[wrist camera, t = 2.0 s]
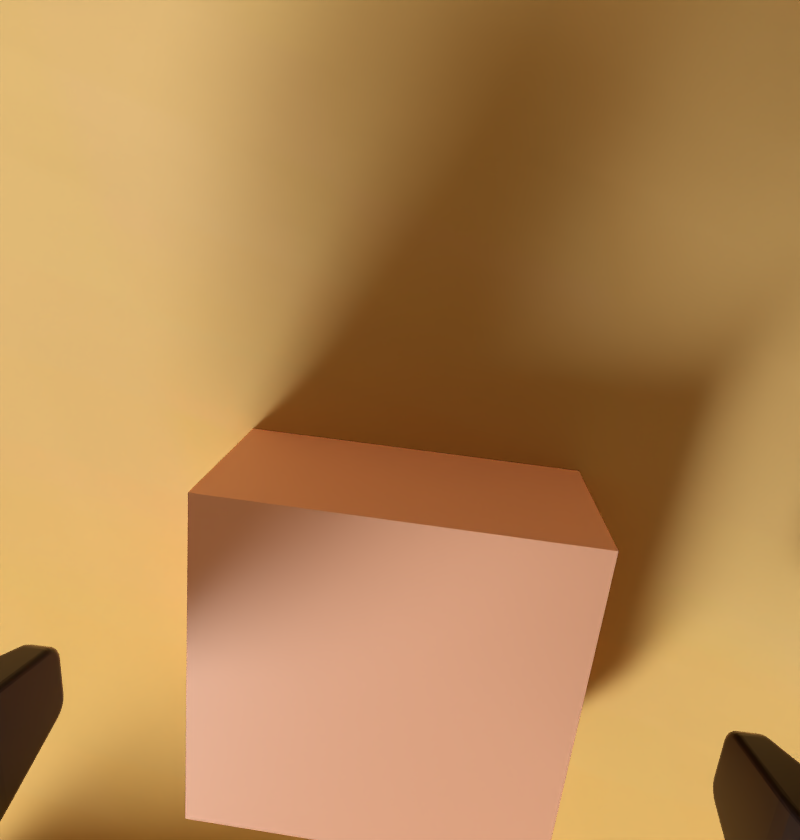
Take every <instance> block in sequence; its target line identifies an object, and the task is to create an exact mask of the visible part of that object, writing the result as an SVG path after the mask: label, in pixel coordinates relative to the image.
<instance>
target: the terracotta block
mask: <svg viewBox="0 0 800 840" xmlns="http://www.w3.org/2000/svg"><path fill="white" fill-rule="evenodd" d="M618 552H619V551H618V549H617V547H616V545H615V543H614V541H613V539H612V537H611V535H610V533H609V531H608V529H607V527H606V525H605V523H604V521H603V519H602V517H601V515H600V513H599V511H598V509H597V507H596V505H595V503H594V501H593V498H592V496H591V494H590V492H589V490H588V488H587V486H586V484H585V482H584V480H583V478H582V476H581V474H580V472H579V471H576V470H568V469H561V468H553V467H545V466H538V465H530V464H522V463H515V462H507V461H499V460H492V459H484V458H476V457H469V456H461V455H453V454H446V453H438V452H430V451H423V450H415V449H407V448H400V447H392V446H384V445H377V444H369V443H361V442H354V441H346V440H338V439H331V438H323V437H315V436H308V435H300V434H292V433H285V432H277V431H269V430H261V429H254V428H253V429H252V430H251V431H250V432H249V433H248V434H247V435H246V436H245V437H244V438H243V439H242V440H241V441H240V442H239V443H238V444H237V445H236V446H235V447H234V448H233V449H232V450H231V451H230V452H229V453H228V454H227V455H226V456H225V457H224V458H223V459H222V460H221V461H220V462H219V463H218V464H217V465H216V466H215V467H214V468H213V469H212V470H211V471H210V472H209V473H207V474H206V475H205V476H204V477H203V478H202V479H201V480H200V481H199V482H198V483H197V484H196V485H195V486H194V487H193V488H192V489H191V490H190V491H189V492H188V569H187V684H186V800H185V819H191V820H197V821H203V822H209V823H215V824H221V825H227V826H233V827H240V828H246V829H252V830H258V831H264V832H270V833H276V834H282V835H288V836H294V837H300V838H307V839H313V840H551V838H552V834H553V830H554V825H555V821H556V817H557V812H558V808H559V804H560V800H561V795H562V791H563V787H564V783H565V778H566V774H567V770H568V765H569V761H570V757H571V753H572V748H573V744H574V740H575V735H576V731H577V727H578V723H579V718H580V714H581V710H582V706H583V701H584V697H585V693H586V688H587V684H588V680H589V676H590V671H591V667H592V663H593V659H594V654H595V650H596V646H597V641H598V637H599V633H600V629H601V624H602V620H603V616H604V612H605V607H606V603H607V599H608V594H609V590H610V586H611V582H612V577H613V573H614V569H615V564H616V560H617V556H618Z"/></svg>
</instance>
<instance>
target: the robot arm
mask: <svg viewBox="0 0 800 840" xmlns="http://www.w3.org/2000/svg"><path fill="white" fill-rule="evenodd" d="M62 704H63V686H62V676H61V666H60V657H59V653H58V652H57V650H56V649H54V648H52V647H46V646H38V645H24V646H21V647H19V648H17V649H14V650H12V651H10V652H8V653H6V654H3V655H1V656H0V821H1V819H2V817H3V815H4V814H5V812H6V810H7V809H8V807H9V805H10V803H11V801H12V800H13V798H14V796H15V794H16V792H17V791H18V789H19V787H20V785H21V783H22V781H23V780H24V778H25V776H26V774H27V772H28V771H29V769H30V767H31V765H32V763H33V762H34V760H35V758H36V756H37V754H38V752H39V751H40V749H41V747H42V745H43V743H44V742H45V740H46V738H47V736H48V734H49V733H50V731H51V729H52V727H53V725H54V723H55V722H56V720H57V718H58V716H59V714H60V711H61V708H62ZM713 794H714V800H715V804H716V808H717V812H718V816H719V819H720V823H721V827H722V831H723V834H724V838H725V840H800V763H799V762H797V761H796V760H795V759H794V758H792V757H791V756H790V755H789V754H787V753H786V752H785V751H784V750H782V749H781V748H780V747H779V746H777V745H776V744H775V743H774V742H772V741H771V740H770V739H769V738H767V737H766V736H764V735H761V734H756V733H748V732H740V731H733V732H730V733H729V734H728V735H727V736H726V738H725V741H724V744H723V748H722V751H721V755H720V759H719V762H718V766H717V769H716V773H715V777H714V782H713Z"/></svg>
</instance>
